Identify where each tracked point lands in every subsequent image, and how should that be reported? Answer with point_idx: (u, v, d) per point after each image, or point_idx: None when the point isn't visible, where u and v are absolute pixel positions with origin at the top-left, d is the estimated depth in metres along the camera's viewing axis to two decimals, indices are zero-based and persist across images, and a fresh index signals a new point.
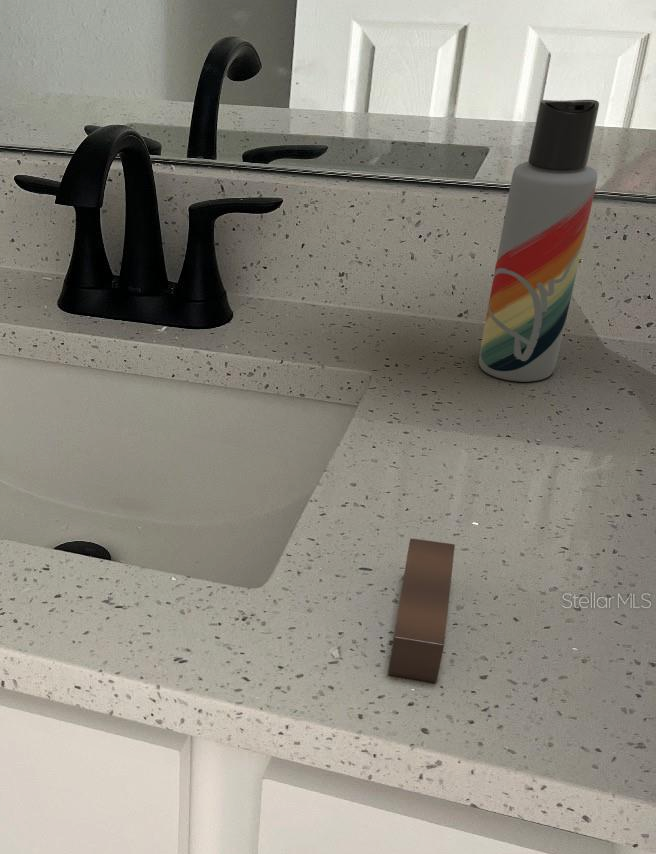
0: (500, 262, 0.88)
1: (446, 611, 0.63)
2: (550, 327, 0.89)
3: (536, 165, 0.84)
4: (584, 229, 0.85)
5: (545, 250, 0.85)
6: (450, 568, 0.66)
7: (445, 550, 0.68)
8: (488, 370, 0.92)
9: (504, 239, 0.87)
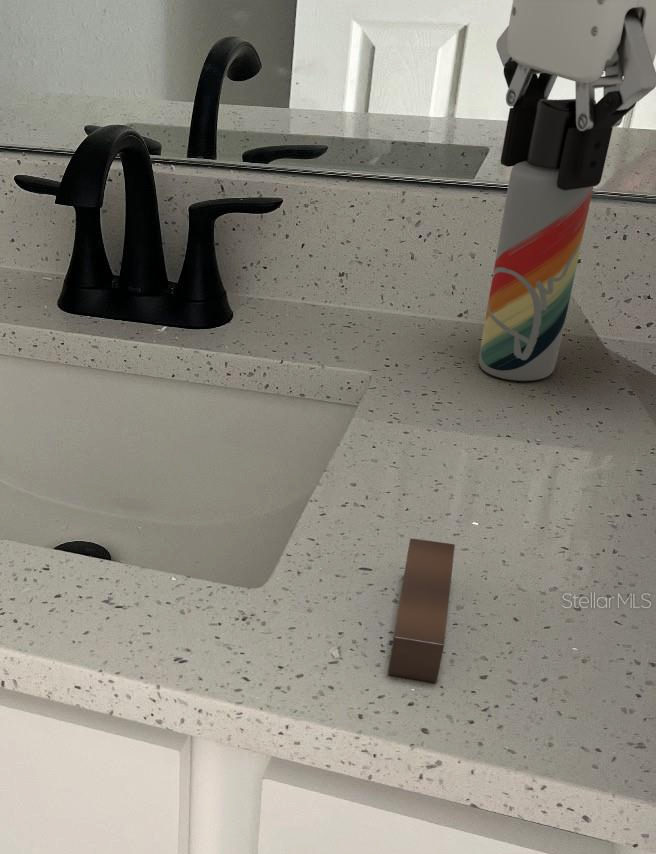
0: (499, 261, 0.88)
1: (446, 611, 0.63)
2: (550, 326, 0.89)
3: (534, 164, 0.84)
4: (582, 227, 0.85)
5: (544, 248, 0.85)
6: (450, 568, 0.66)
7: (445, 550, 0.68)
8: (488, 370, 0.92)
9: (503, 238, 0.87)
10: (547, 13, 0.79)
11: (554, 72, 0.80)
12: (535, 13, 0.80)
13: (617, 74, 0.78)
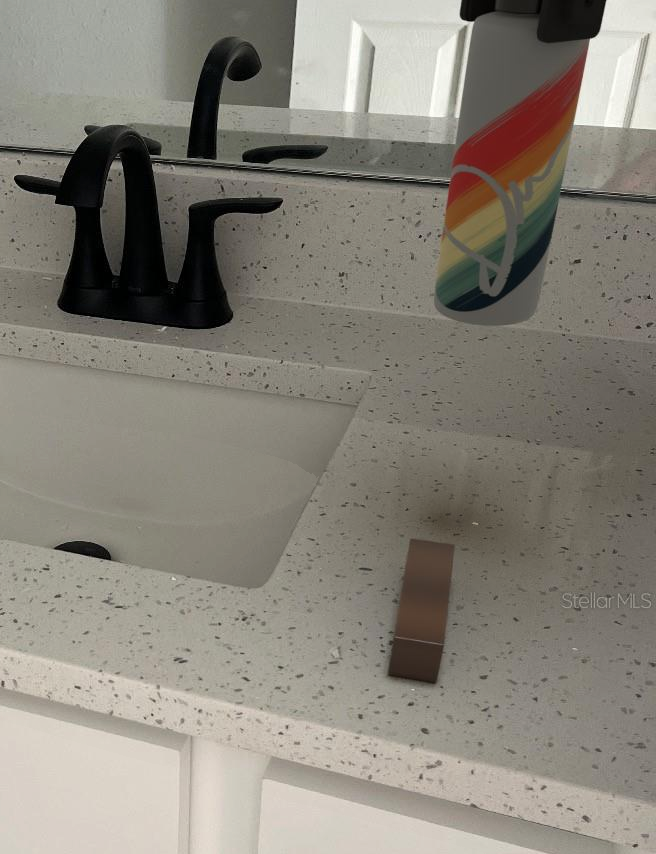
0: (458, 156, 0.63)
1: (446, 611, 0.63)
2: (529, 247, 0.64)
3: (504, 9, 0.59)
4: (574, 103, 0.60)
5: (519, 133, 0.60)
6: (450, 568, 0.66)
7: (445, 550, 0.68)
8: (445, 312, 0.67)
9: (462, 123, 0.62)
10: None
11: None
12: None
13: None
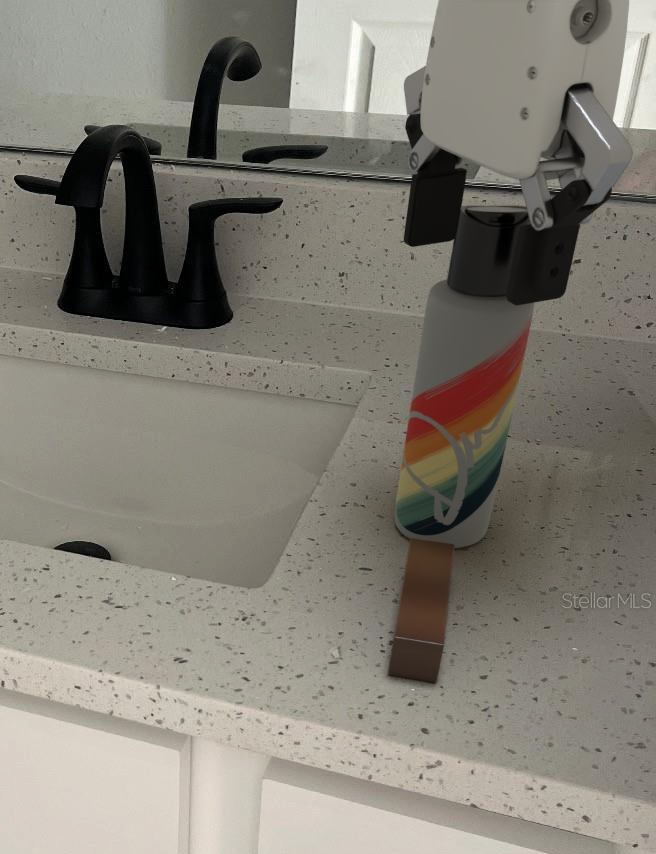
0: (415, 404, 0.70)
1: (446, 611, 0.63)
2: (478, 485, 0.70)
3: (455, 289, 0.65)
4: (519, 368, 0.67)
5: (468, 395, 0.67)
6: (450, 568, 0.66)
7: (445, 550, 0.68)
8: (404, 531, 0.74)
9: (419, 376, 0.69)
10: (466, 85, 0.60)
11: (477, 161, 0.61)
12: (452, 84, 0.61)
13: (572, 155, 0.58)
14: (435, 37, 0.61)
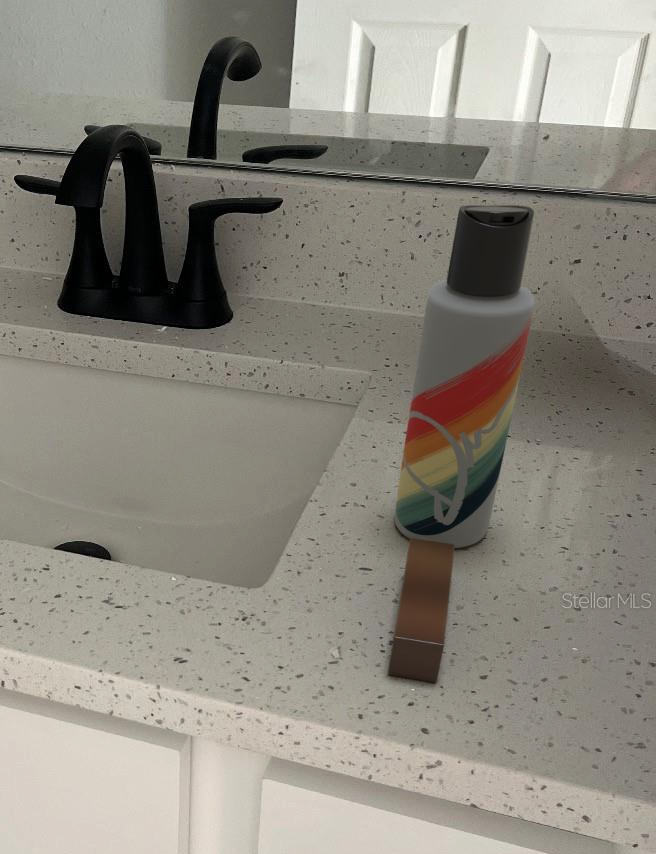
0: (415, 404, 0.70)
1: (446, 611, 0.63)
2: (478, 485, 0.70)
3: (455, 288, 0.65)
4: (518, 368, 0.67)
5: (468, 395, 0.67)
6: (450, 568, 0.66)
7: (445, 550, 0.68)
8: (404, 531, 0.74)
9: (419, 376, 0.69)
10: None
11: None
12: None
13: None
14: None
